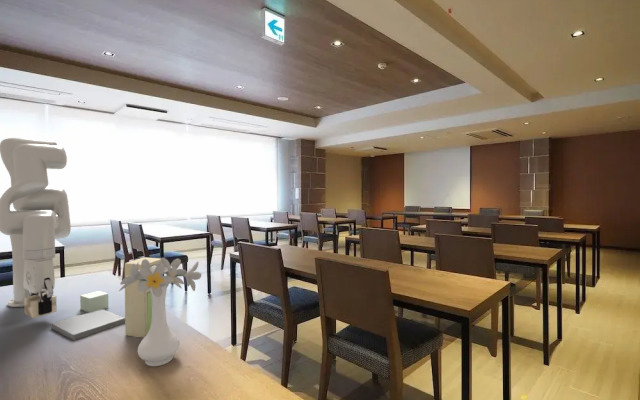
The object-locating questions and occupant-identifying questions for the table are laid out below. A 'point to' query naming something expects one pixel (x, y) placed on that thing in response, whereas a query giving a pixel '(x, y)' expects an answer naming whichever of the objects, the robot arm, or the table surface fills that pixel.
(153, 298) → the flower vase
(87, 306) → the sage block
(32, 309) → the birch block
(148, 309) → the toy refrigerator
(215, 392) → the table surface
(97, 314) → the base plate
